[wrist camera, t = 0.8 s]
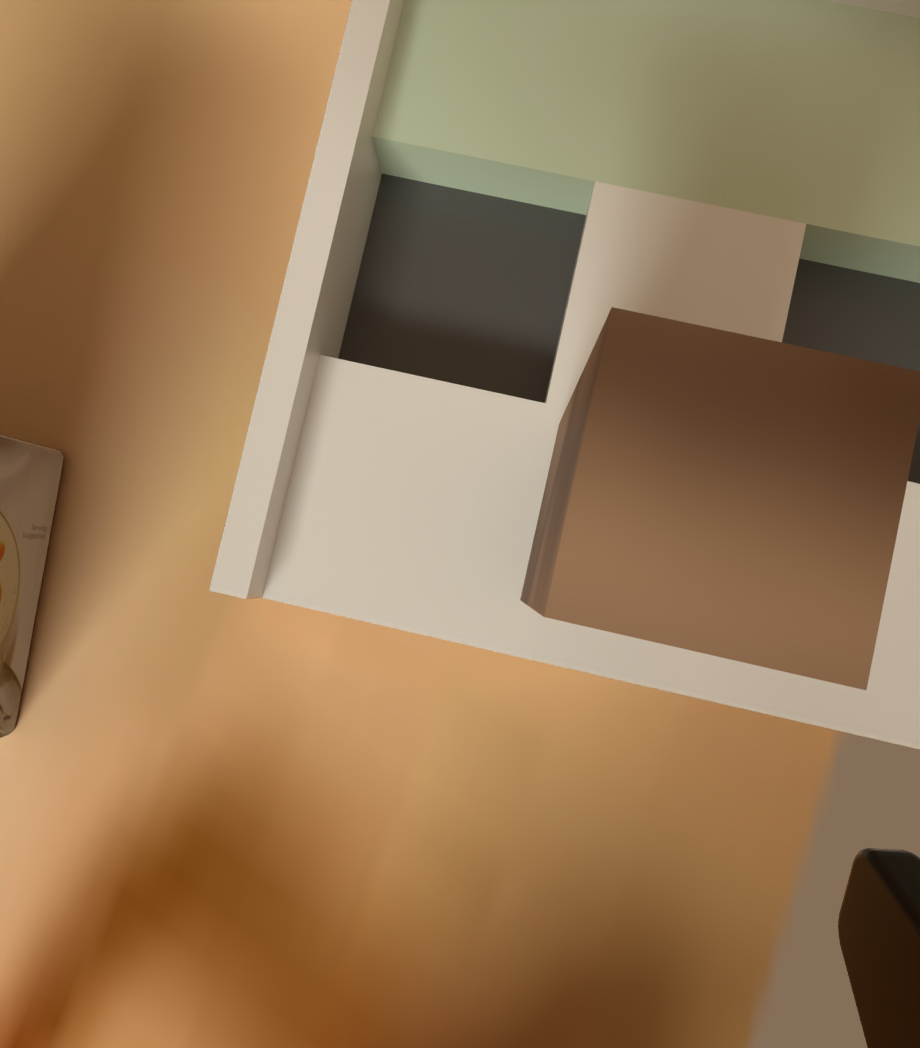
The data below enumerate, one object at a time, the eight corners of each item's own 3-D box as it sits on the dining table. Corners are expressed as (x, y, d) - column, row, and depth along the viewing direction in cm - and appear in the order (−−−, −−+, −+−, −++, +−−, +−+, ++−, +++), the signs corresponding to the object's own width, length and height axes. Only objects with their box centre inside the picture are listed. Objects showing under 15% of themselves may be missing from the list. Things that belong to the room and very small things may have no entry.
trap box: (937, 745, 25) (1022, 778, 21) (252, 588, 26) (209, 590, 22) (1064, 75, 26) (1169, -17, 22) (405, -50, 27) (391, -159, 23)
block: (700, 641, 23) (866, 690, 13) (519, 600, 23) (543, 617, 13) (737, 462, 23) (928, 372, 13) (559, 423, 23) (611, 306, 13)
